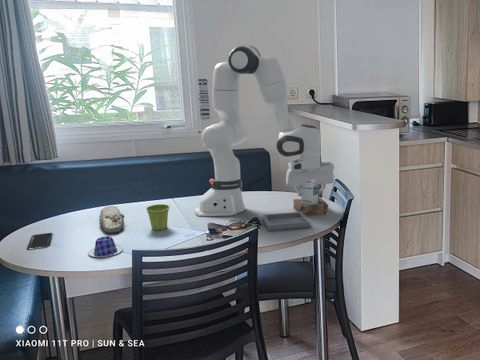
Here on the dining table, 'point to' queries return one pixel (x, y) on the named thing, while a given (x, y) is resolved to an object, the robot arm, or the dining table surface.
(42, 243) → the phone
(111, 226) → the beige slipper
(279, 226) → the tray
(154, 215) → the plant pot
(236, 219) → the dining table surface
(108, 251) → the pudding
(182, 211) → the dining table surface
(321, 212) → the socket block
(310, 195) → the syrup box
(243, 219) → the dining table surface
